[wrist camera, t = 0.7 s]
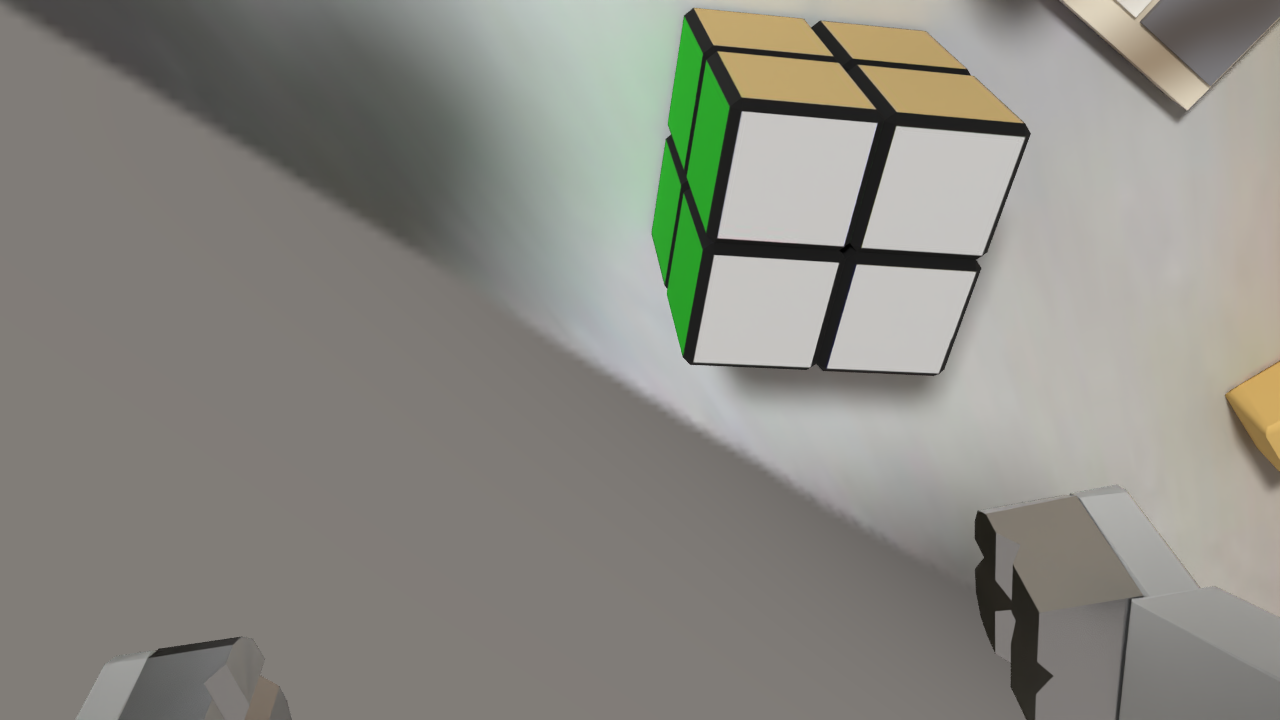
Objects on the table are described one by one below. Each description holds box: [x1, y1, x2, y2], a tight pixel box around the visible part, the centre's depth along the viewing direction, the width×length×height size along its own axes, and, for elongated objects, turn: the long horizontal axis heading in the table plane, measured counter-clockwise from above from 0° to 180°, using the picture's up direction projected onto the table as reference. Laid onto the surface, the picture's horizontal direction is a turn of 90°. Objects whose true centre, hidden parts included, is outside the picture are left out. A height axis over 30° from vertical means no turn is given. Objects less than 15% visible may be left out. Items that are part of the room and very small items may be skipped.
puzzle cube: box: [652, 8, 1031, 376], centre depth 38 cm, size 10×10×10 cm
